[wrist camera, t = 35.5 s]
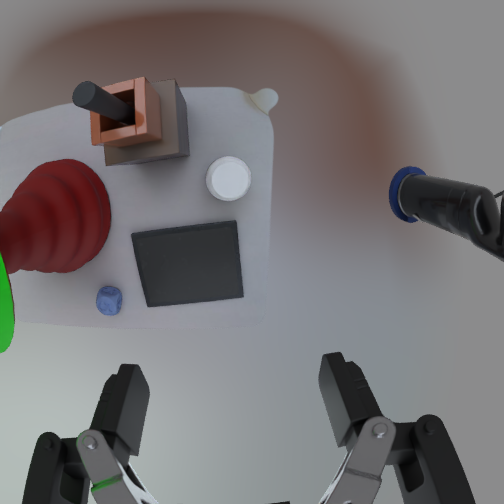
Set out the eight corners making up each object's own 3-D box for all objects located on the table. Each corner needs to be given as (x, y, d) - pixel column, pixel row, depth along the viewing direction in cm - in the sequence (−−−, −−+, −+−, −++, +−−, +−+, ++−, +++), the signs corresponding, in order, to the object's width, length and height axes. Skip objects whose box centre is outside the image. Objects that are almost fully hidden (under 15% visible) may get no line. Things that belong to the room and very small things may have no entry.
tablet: (236, 220, 46) (236, 221, 45) (243, 294, 50) (243, 297, 49) (132, 232, 44) (130, 234, 43) (148, 304, 48) (147, 307, 47)
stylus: (144, 111, 25) (95, 77, 12) (145, 126, 26) (95, 102, 13) (129, 114, 25) (72, 85, 12) (130, 129, 26) (72, 109, 13)
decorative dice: (121, 306, 48) (116, 317, 44) (103, 302, 47) (96, 313, 43) (122, 288, 47) (115, 298, 43) (103, 284, 46) (95, 294, 42)
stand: (186, 102, 38) (174, 78, 25) (189, 155, 41) (179, 152, 28) (132, 112, 37) (101, 94, 24) (136, 163, 40) (105, 166, 27)
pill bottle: (244, 194, 45) (254, 205, 34) (207, 195, 44) (205, 205, 33) (245, 157, 43) (255, 155, 32) (206, 157, 42) (204, 155, 31)
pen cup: (159, 95, 25) (144, 76, 18) (162, 139, 27) (147, 133, 20) (115, 104, 25) (89, 90, 18) (117, 148, 27) (91, 145, 20)
